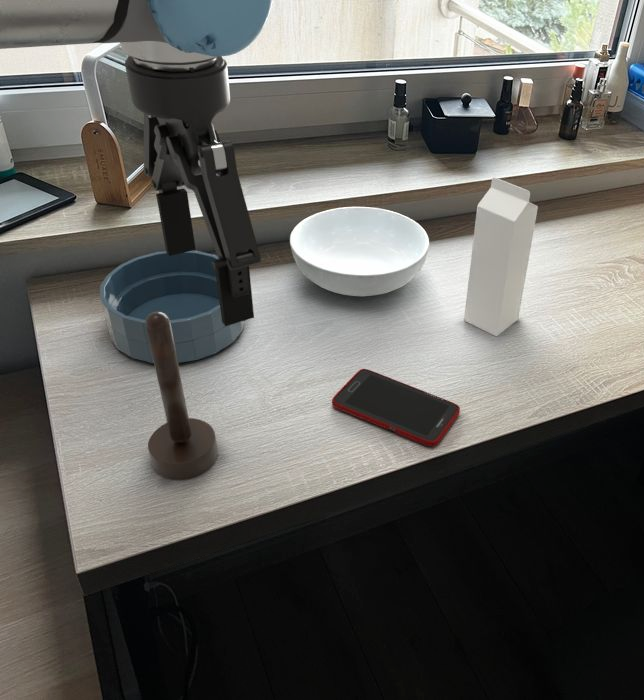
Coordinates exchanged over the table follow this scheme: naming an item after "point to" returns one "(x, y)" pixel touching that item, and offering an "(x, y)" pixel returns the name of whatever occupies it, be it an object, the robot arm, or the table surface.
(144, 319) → the mixing bowl
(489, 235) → the milk
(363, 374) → the cell phone
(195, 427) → the paper towel holder
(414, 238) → the serving bowl
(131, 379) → the table surface
